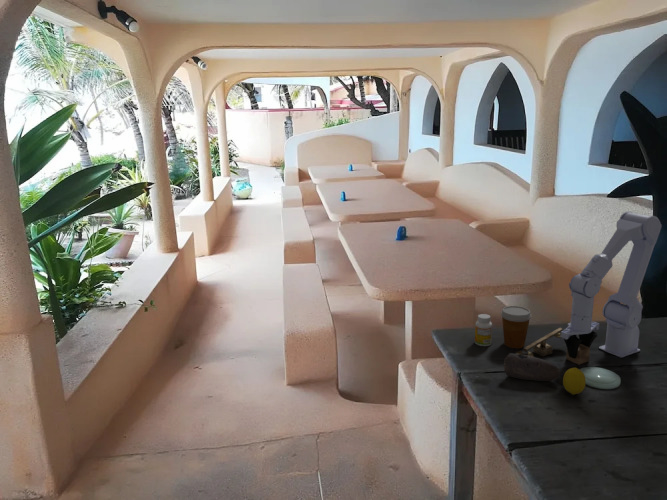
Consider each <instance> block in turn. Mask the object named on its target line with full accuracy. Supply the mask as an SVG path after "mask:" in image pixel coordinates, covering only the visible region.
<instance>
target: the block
mask: <svg viewBox="0 0 667 500" xmlns="http://www.w3.org/2000/svg"><path fill="white" fill-rule="evenodd" d="M590 353H591V346H590V347H587V346H585V345H582V344H580V345H579V347H578V352H577V356H576V358H575V359H574V358H571V357H569V355H568V350H567V349H566V358H565V359H566V360H568V361H570V362H572V363H574V364H576V365H582V364H584V363H588V362H589V361H590Z"/></svg>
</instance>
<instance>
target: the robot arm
mask: <svg viewBox="0 0 667 500" xmlns="http://www.w3.org/2000/svg"><path fill="white" fill-rule="evenodd" d="M661 223H662V222H661V221H660V219H659V217H657V216H655V215H647V214H642V213H638V212H633V211H625V212H623V213H622V214H621V215H620V217H619V219H618V220H617V221H616V230H615V232H614V233H613V235H612V236H611V238H610V239H609V241H608V242H607V244H606V246H605V247H604V248H603V250H602V252H601V253H598V254H597V253H596V254H594V255H593V257H592V258H591V259H590V261H589V262H588V263H587V264H586V266H585V267H584V268H583V269H582V270H581V272H580V273H577V274H575V275H574V276H572V278H571V280H570V282H569V283H568V287H569V289H570V290H569V291H570V292H571V294H570V296H571V297H572V303H571V312H570V313H571V314H570V322H569V323H567V327H566V328H564V329H563V331H561V338H560V339H563V340H564V343H565V345H566V351H567V350H568V355H569V357H571V358H574V359H575V358H576V356H577V352H578V347H579V345H580V344H582V345H585V346H587V347H590V348H591V346H592V343H594V341H595V339H596V338H597V337H598V332H596V331H597V330H599V329H600V323H599V322H596V321H593V313H594V302H595V300H594V299H595V296H597V294H598V293H599V292H600V289H601V285H602V283H603V279H604V278H605V277H606V276H607V274H608V273H609V272H610V270H611V269H612V268H613V260H614V259H615V257H616V256H617V255H618V254H619V253H620V251H622V249H624V247H625V246H626V245H627V244H628V243H629V242H632V244H633V245H632V249H631V251H630V254H629V258H628V261H627V264H626V267H625V269H624V272H623V275H622V279H621V281H620V285H619V286H618V291H617V292H615V293H613V294H610V295H609V296H608V300H607V301H606V302H605V303H604V305H603V306H602V307H603V308H602V316H603V317H604V318H605V322H606V323H607V326H606V335H605V343H604V345H600V346H598V349H599V350H601V351H603V352H606V353H609V354H611V355H614V356H616V357H618V358H625V357H627V356H629V355H632V354H637V353H638V352H640V351H641V349H640V348H638V347H639V338H640V329H639V326H638V325H640V323H641V321H642V312H643V308H644V306H643V304H642V303H641V302H640V300H639V299H638V296H639V292H640V289H641V286H642V283H643V280H644V278H645V274H646V272H647V269H648V265H649V263H650V259H651V257H652V254H653V252H654V248H655V245H656V244H657V241H658V238H659V236H660V233H661V230H662V227H663V225H662V224H661ZM594 330H596V331H594Z"/></svg>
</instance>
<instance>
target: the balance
mask: <svg viewBox="0 0 667 500" xmlns="http://www.w3.org/2000/svg"><path fill="white" fill-rule="evenodd" d="M561 331H564V329H563V328H562V327H558V328H557V329H555V330H553V331H552V332H549V333H547V334H546V335H544V336H542V337H540V338H539V339H537V340H535V341H534V342H532V343H529V344H528V345H526V346H524V347H523V349H522V350H518V351H516V352H515V354H521V355H526V356H531V357H534V353H535V354H537V355H539V354H540V355H539V356H541V357H546V356H548V355H549V356H550V355H551V354H553V348H554V347H553V345H550V344H548V343H547V341H548V340H549V339H551V338H553V337H555V338H557V339H562V338H561ZM530 350H532V352H531V351H530Z"/></svg>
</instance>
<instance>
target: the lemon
mask: <svg viewBox="0 0 667 500" xmlns="http://www.w3.org/2000/svg"><path fill="white" fill-rule="evenodd" d="M562 385H563V387H564V389H565V390H566V392H567V393H570V394H571V395H573V396H575V395H578V394H581V393H582V392H583V391H584V389H585V387H586V380H585V375H584V373H583V372H582V371H581V370H580V368H577V367H571V368H568V369H567V370H566V371H565V372H564V374H563V378H562Z"/></svg>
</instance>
